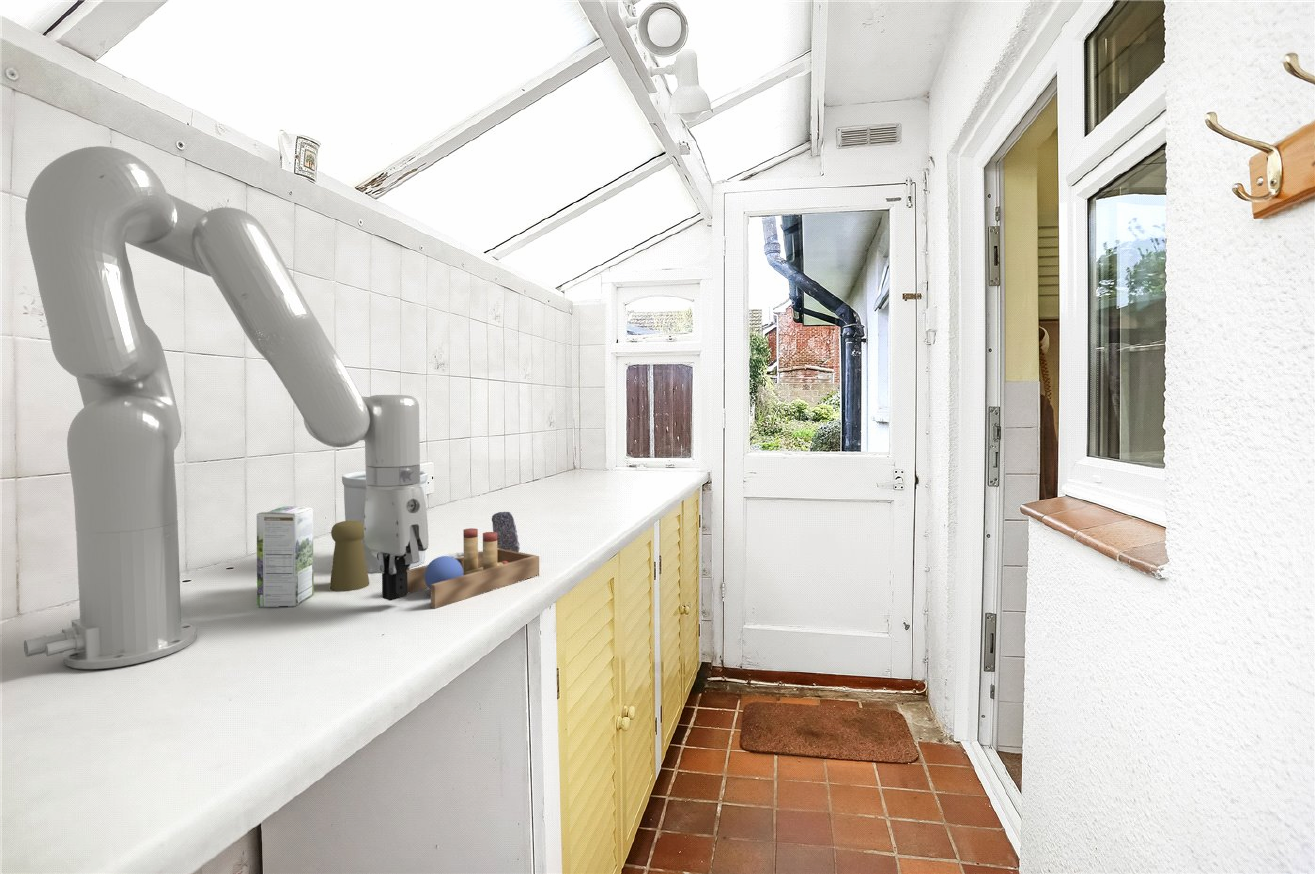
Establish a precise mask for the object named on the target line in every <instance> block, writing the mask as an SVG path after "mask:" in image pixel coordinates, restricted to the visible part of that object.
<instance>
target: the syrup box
mask: <svg viewBox="0 0 1315 874" xmlns="http://www.w3.org/2000/svg"><path fill="white" fill-rule="evenodd" d="M256 594H257V595H256V601H257V602H256V606H257V607H258V608H280V607H279V606H288V607H297V606H298V605H300V604H301V603H303V602H305V601H306V600H308V599H309V598H311V597H313V596H314V508H312V507H308V506H301V505H300V506H297V505H290V506H287V505H286V506H279V507H278V506H277V507H274V508H271V509H268V510H265V511H262V512H261V511H260V512H258V513H256Z"/></svg>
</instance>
